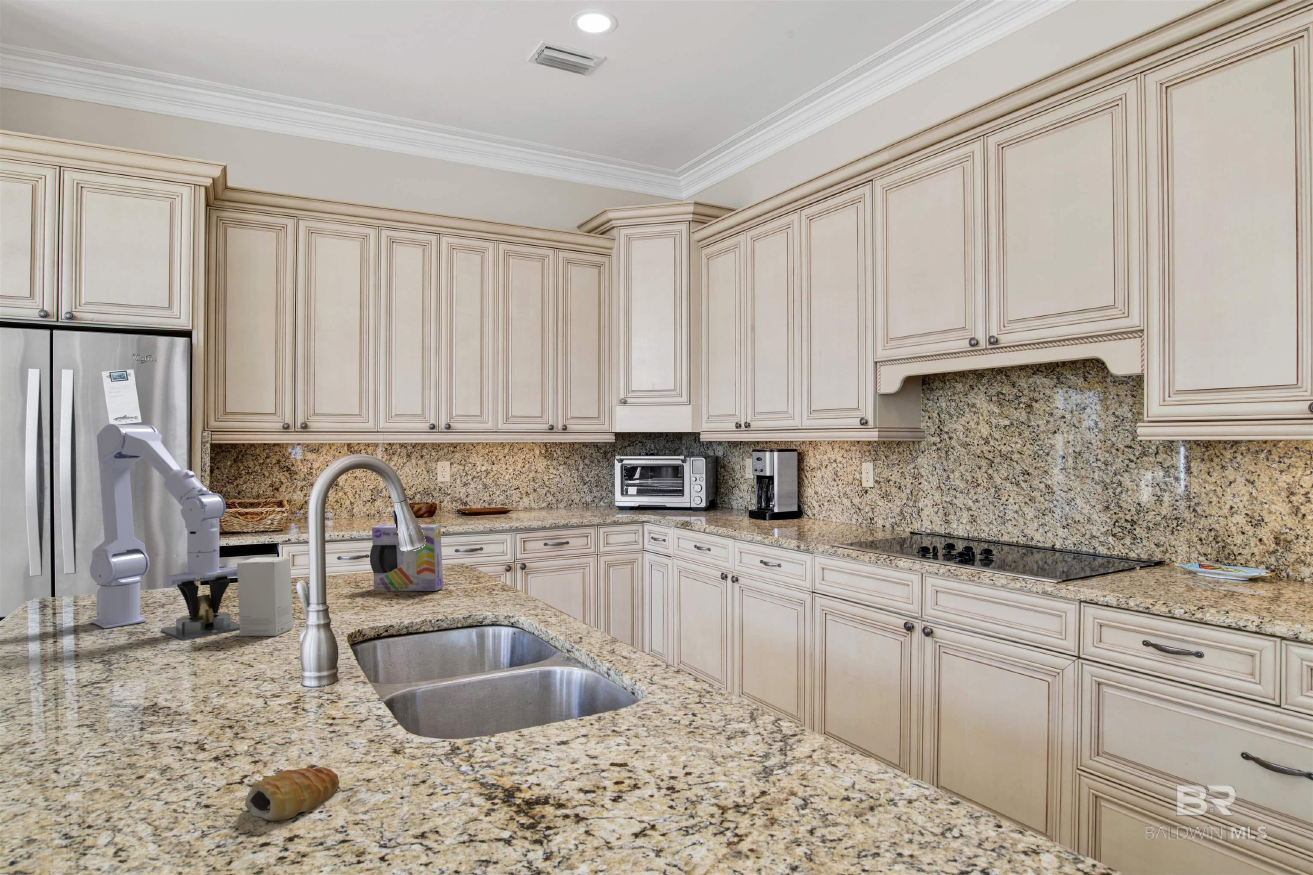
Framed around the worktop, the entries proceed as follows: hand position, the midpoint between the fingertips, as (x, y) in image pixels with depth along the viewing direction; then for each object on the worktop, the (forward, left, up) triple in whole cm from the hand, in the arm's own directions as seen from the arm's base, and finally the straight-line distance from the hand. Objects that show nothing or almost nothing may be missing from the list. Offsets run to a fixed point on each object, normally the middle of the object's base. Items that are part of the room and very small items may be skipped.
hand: (203, 614), depth 158 cm
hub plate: (0, 0, -3) cm, 3 cm away
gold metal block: (0, 0, -2) cm, 2 cm away
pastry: (+91, -25, -4) cm, 94 cm away
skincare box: (+13, +7, -3) cm, 15 cm away
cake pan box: (-3, +51, -3) cm, 51 cm away
